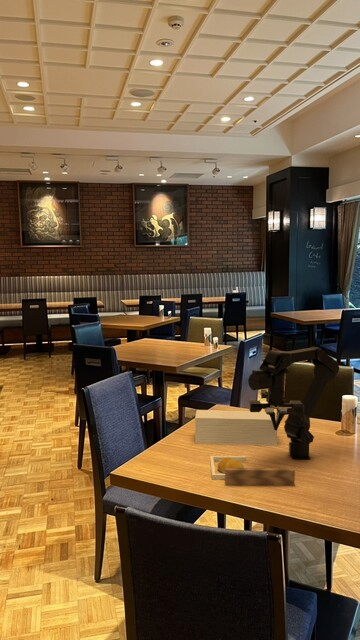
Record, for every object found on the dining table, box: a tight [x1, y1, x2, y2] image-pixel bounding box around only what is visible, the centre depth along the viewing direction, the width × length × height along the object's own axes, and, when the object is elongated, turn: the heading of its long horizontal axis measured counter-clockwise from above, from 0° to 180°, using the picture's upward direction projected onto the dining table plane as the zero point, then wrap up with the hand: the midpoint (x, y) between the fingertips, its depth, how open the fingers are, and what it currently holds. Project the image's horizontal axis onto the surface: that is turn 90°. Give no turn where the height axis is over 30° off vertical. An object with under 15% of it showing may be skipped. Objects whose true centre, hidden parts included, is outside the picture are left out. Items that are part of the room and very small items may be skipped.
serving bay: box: [209, 455, 248, 480], centre depth 166 cm, size 13×16×2 cm
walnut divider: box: [224, 467, 296, 487], centre depth 154 cm, size 22×2×5 cm, turn 89°
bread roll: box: [217, 458, 245, 474], centre depth 165 cm, size 8×9×4 cm
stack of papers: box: [194, 409, 278, 447], centre depth 194 cm, size 32×11×11 cm, turn 85°
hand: (275, 429), depth 170 cm, fingers closed
